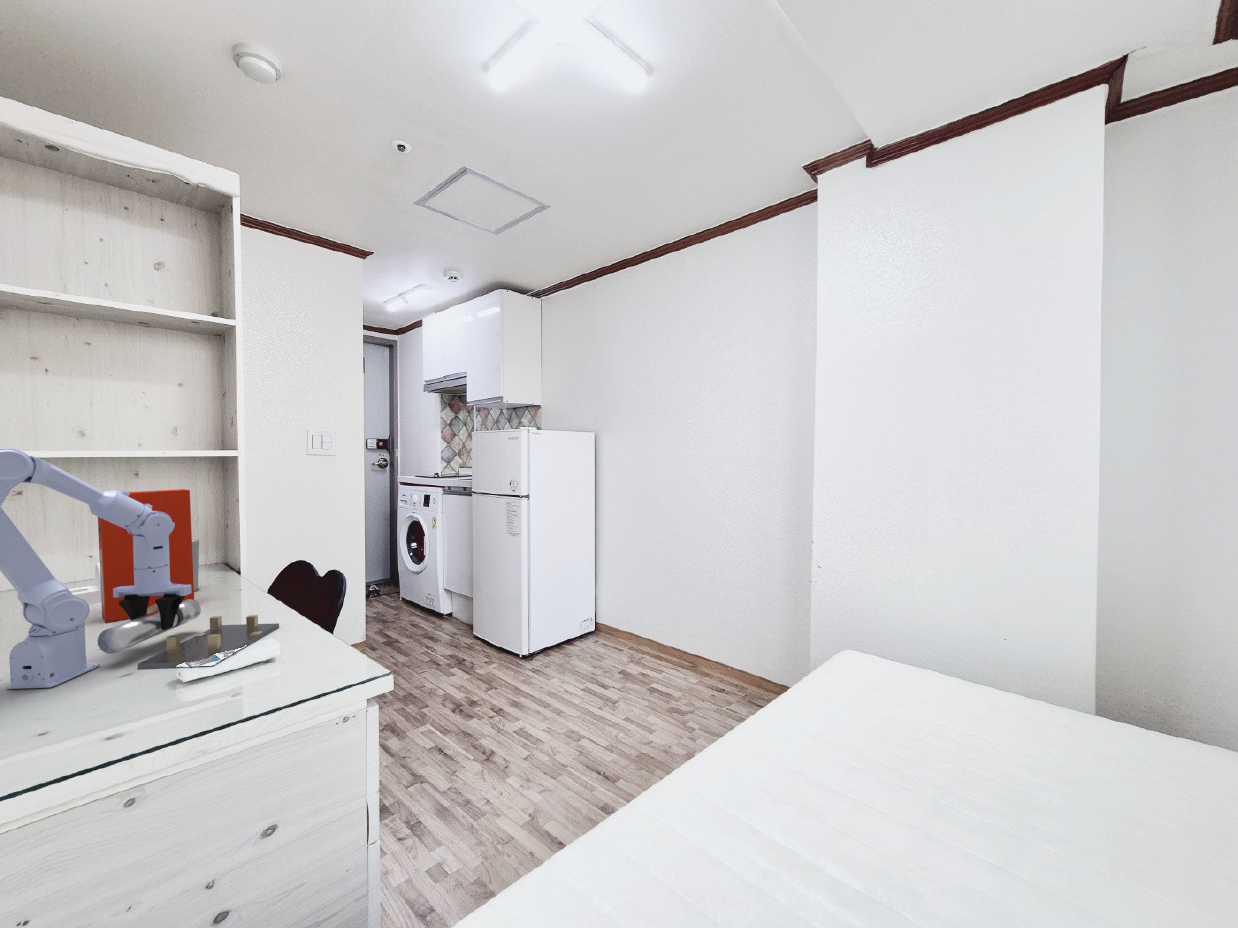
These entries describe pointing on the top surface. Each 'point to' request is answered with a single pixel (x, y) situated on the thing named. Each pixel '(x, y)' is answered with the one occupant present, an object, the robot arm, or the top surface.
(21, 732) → the top surface
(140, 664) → the grey plate with pegs
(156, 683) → the top surface
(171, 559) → the file binder
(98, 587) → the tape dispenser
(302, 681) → the top surface
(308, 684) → the top surface
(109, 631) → the silver long rounded block
